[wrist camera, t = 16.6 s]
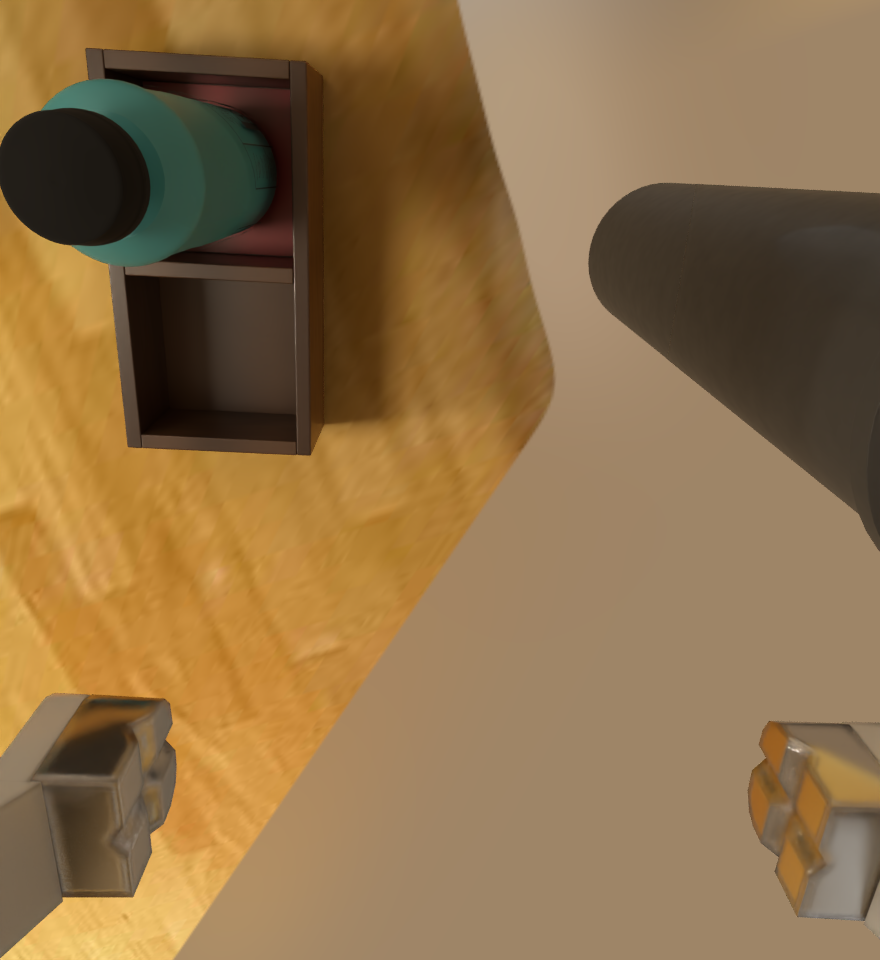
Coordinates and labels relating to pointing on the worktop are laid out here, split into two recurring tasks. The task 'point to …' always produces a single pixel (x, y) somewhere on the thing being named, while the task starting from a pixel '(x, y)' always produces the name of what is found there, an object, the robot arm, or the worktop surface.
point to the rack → (231, 279)
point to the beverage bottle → (135, 172)
